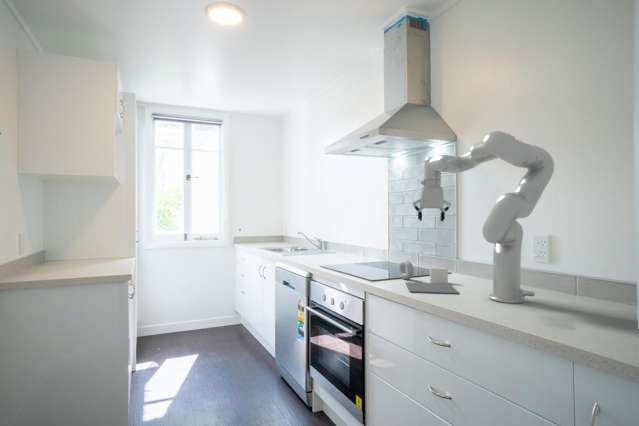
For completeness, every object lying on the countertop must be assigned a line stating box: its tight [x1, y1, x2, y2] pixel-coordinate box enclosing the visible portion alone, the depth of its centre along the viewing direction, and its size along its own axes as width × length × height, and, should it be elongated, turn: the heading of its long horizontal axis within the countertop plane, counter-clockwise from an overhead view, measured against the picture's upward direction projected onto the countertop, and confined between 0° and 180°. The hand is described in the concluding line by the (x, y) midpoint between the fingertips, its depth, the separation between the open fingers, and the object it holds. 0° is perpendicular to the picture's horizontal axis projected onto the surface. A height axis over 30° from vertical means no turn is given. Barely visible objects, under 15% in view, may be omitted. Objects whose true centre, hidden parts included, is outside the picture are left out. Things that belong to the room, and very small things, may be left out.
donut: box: [397, 259, 415, 280], centre depth 185 cm, size 10×4×10 cm, turn 27°
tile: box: [429, 267, 449, 284], centre depth 177 cm, size 8×2×7 cm, turn 82°
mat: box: [405, 281, 460, 295], centre depth 163 cm, size 20×20×1 cm
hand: (431, 220), depth 170 cm, fingers open, 9 cm apart
